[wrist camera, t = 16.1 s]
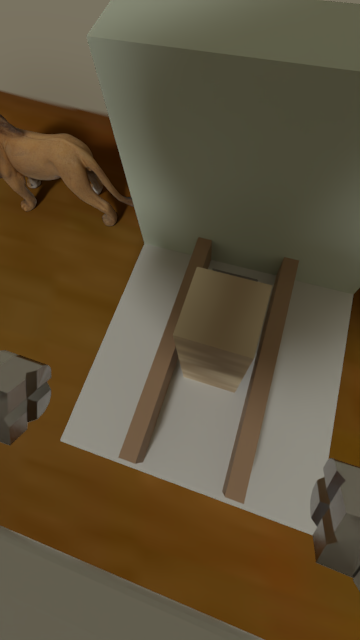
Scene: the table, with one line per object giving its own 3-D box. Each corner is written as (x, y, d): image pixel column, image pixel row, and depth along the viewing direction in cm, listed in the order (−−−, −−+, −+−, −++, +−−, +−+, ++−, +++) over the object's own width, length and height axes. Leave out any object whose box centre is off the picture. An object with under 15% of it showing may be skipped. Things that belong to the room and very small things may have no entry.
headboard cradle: (67, 441, 22) (-179, 425, 8) (164, 209, 28) (127, -25, 14) (309, 531, 19) (613, 762, 5) (354, 252, 26) (537, 13, 12)
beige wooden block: (183, 376, 22) (172, 335, 14) (200, 324, 23) (199, 259, 15) (234, 392, 21) (253, 358, 13) (249, 338, 22) (274, 277, 15)
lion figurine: (-21, 220, 30) (-109, 129, 21) (-2, 175, 31) (-76, 76, 23) (137, 230, 28) (109, 137, 20) (147, 182, 30) (125, 79, 22)
